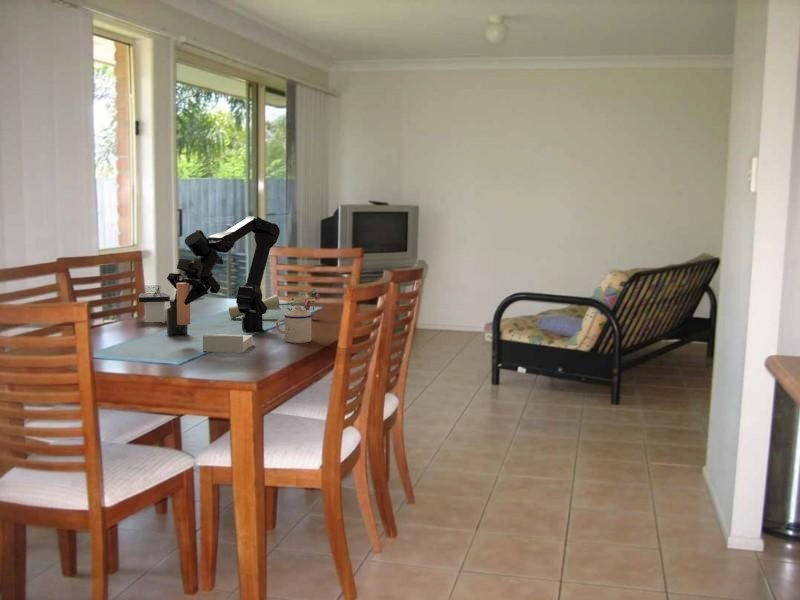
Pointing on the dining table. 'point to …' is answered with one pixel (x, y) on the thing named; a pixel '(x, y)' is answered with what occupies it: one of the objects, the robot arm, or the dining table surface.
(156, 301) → the black-topped pedestal
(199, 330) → the dining table surface
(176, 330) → the supplement bottle
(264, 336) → the dining table surface
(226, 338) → the socket block
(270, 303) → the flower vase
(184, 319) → the peg
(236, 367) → the dining table surface
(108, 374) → the dining table surface
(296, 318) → the teacup with lid
